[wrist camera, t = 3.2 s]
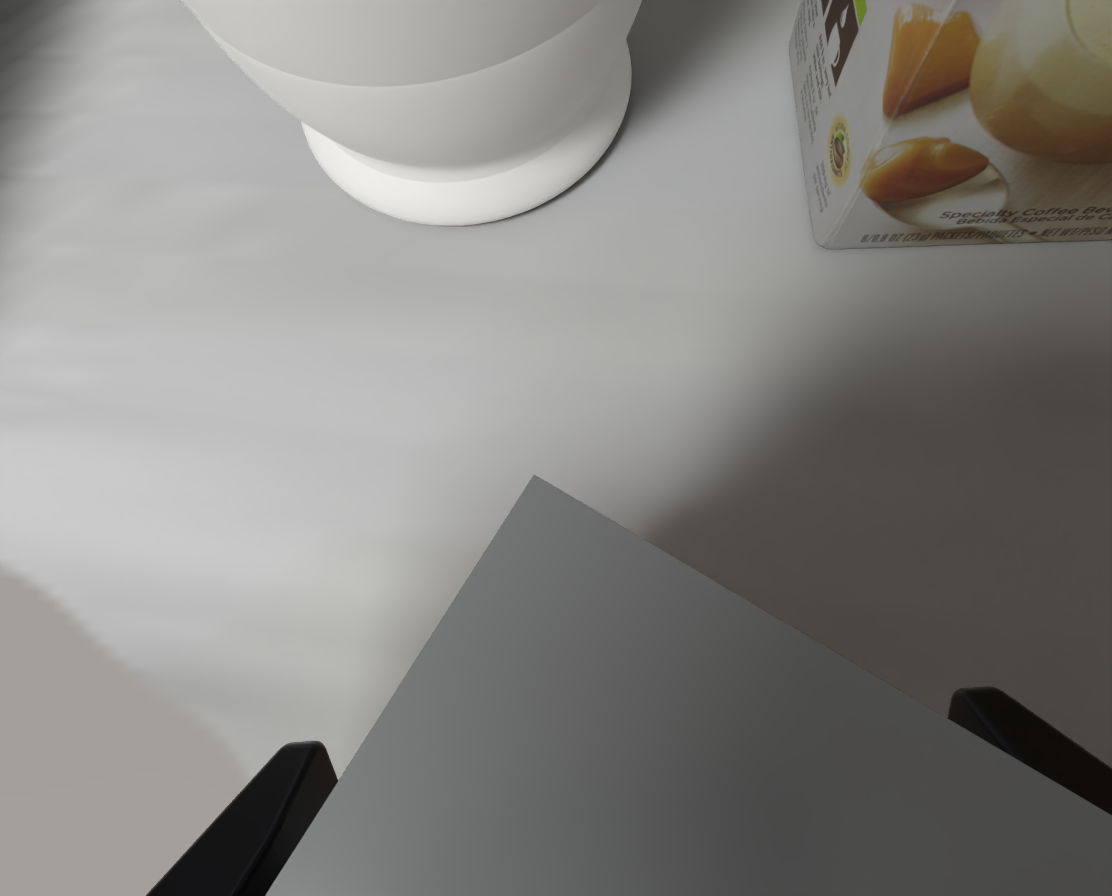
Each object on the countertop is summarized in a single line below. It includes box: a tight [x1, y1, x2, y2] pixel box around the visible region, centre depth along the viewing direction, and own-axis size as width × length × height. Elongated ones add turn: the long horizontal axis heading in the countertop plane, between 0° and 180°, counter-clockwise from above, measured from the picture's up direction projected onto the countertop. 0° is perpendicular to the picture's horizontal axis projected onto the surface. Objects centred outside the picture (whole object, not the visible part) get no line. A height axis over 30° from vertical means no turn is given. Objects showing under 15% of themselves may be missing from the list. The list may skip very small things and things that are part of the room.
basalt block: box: [265, 475, 1112, 896], centre depth 8 cm, size 5×5×7 cm
